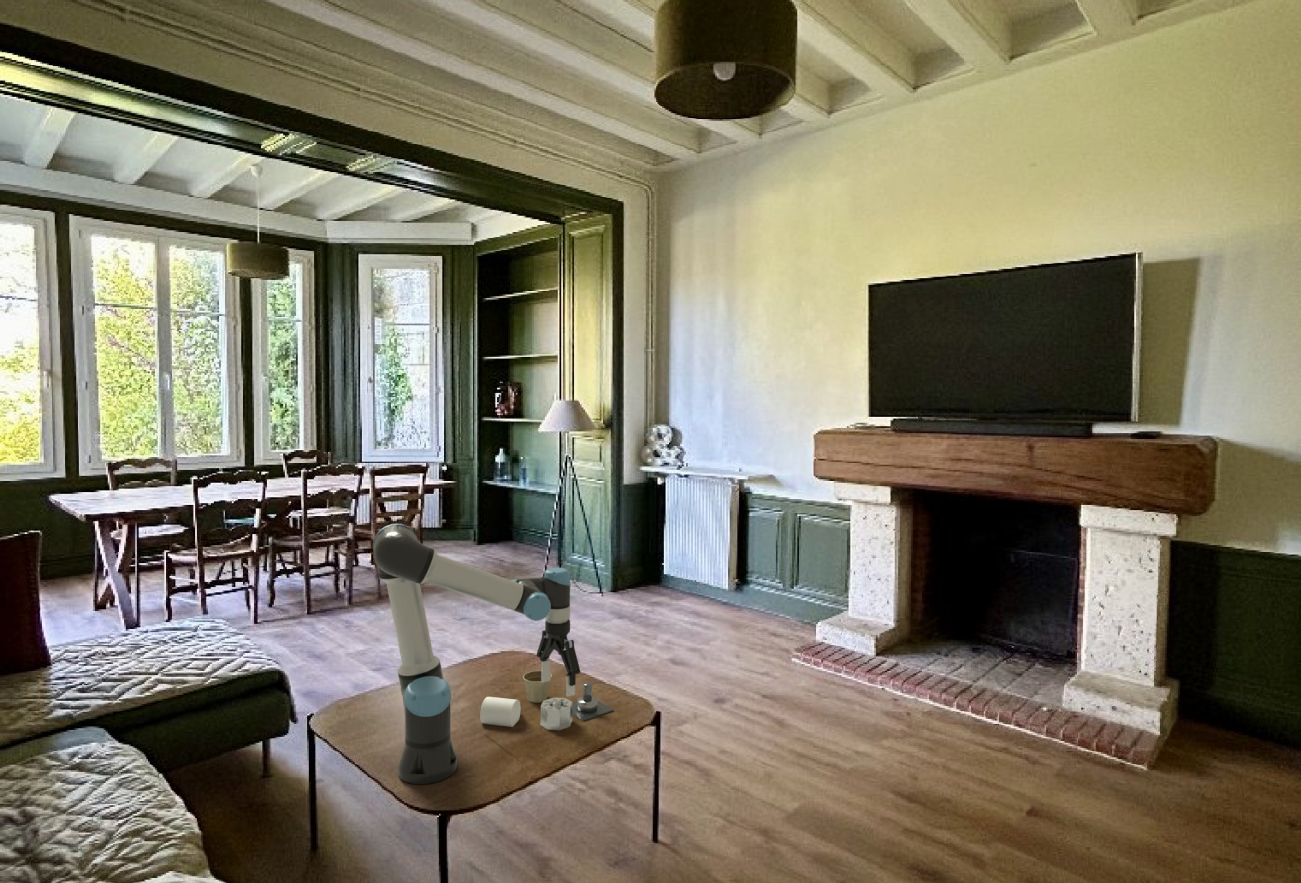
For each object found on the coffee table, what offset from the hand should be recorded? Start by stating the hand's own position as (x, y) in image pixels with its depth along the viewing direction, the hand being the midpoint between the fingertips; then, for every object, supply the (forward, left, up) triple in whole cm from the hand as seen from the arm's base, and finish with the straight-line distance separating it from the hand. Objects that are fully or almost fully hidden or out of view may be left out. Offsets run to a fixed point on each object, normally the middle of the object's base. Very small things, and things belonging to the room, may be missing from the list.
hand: (557, 688), depth 220 cm
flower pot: (+5, +19, -12) cm, 23 cm away
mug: (-11, +13, -12) cm, 21 cm away
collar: (0, 0, -11) cm, 11 cm away
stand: (0, 0, -12) cm, 12 cm away
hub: (+13, +2, -12) cm, 18 cm away
